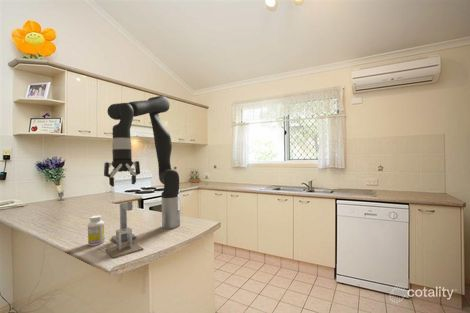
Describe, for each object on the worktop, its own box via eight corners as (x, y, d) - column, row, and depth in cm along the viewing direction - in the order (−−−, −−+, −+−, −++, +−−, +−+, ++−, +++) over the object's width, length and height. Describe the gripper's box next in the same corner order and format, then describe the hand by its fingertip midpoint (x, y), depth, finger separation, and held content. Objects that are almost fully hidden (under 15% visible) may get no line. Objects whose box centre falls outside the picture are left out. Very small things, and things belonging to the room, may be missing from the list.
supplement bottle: (98, 240, 112) (97, 214, 112) (107, 241, 110) (107, 215, 110) (84, 245, 106) (84, 217, 106) (94, 247, 104) (93, 218, 104)
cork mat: (134, 242, 108) (134, 241, 108) (143, 249, 99) (143, 248, 99) (105, 249, 100) (105, 248, 100) (112, 258, 91) (112, 256, 91)
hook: (129, 245, 103) (128, 227, 103) (132, 247, 100) (131, 229, 100) (116, 248, 99) (115, 230, 99) (119, 251, 96) (118, 232, 96)
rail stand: (130, 234, 120) (129, 196, 120) (140, 242, 108) (139, 200, 108) (111, 238, 114) (110, 199, 114) (120, 247, 102) (119, 203, 102)
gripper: (135, 149, 108) (136, 183, 108) (101, 149, 98) (102, 186, 98) (141, 148, 102) (142, 184, 102) (106, 148, 93) (107, 187, 93)
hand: (123, 185), depth 100 cm, fingers open, 8 cm apart
